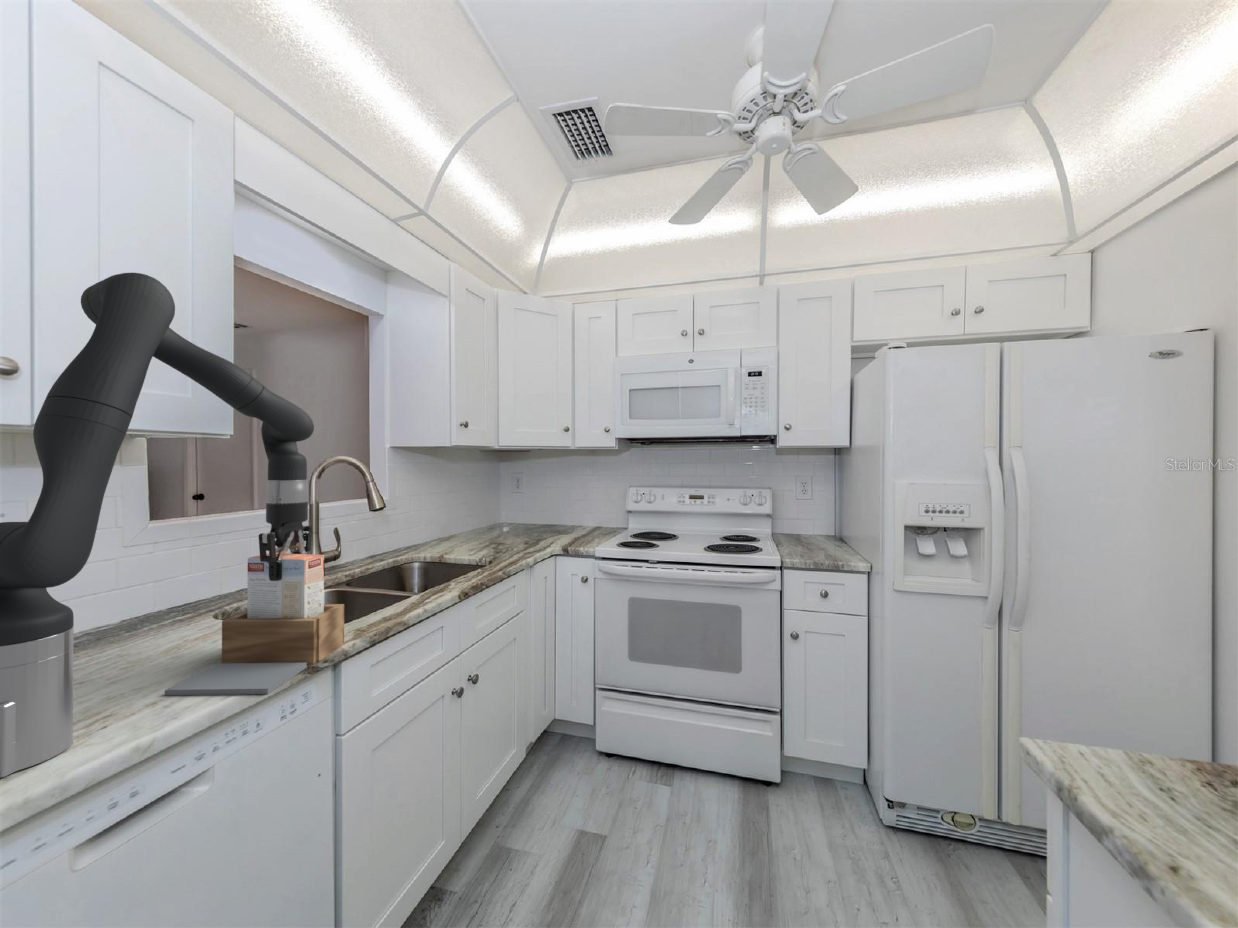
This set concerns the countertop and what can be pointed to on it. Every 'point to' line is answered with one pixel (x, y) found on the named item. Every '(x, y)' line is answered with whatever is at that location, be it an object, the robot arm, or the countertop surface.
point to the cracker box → (286, 588)
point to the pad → (237, 679)
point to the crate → (282, 637)
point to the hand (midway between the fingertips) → (286, 576)
